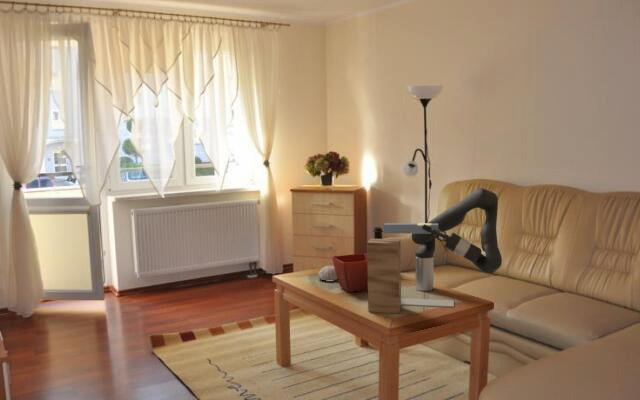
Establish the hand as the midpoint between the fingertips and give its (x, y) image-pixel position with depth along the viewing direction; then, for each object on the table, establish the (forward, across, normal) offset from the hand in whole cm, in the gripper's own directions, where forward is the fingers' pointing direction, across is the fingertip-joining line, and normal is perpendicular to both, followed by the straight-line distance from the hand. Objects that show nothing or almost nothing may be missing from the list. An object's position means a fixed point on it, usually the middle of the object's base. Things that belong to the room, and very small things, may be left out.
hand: (423, 225), depth 246 cm
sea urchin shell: (+29, -52, +62) cm, 86 cm away
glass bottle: (+7, -68, +49) cm, 84 cm away
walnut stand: (-4, 0, +43) cm, 43 cm away
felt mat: (-19, -13, +34) cm, 41 cm away
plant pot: (+14, -34, +53) cm, 64 cm away
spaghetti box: (+3, 0, +6) cm, 7 cm away
